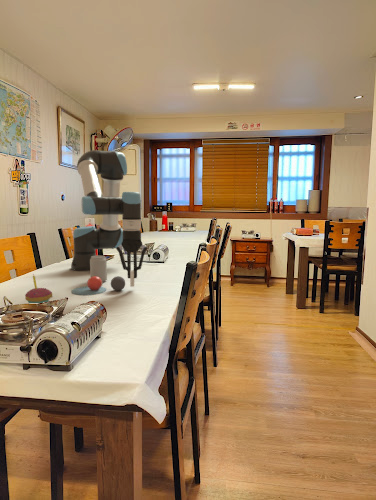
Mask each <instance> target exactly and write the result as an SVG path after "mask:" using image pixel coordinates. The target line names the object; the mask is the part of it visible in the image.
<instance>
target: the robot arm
mask: <svg viewBox="0 0 376 500" xmlns="http://www.w3.org/2000/svg"><path fill="white" fill-rule="evenodd" d="M76 163H77V164H76V169H77V172H78V173H77V174H79V175H80V179H81V183H82V184H81V185H82V188H83V193H84V196H83V197H82V198H81V212H82V214H83V215H91V216H98V215H99V216H101V215H102V220H101V221H102V222H101V223H100V224H99V228H98V227H97V228H96V226H95V225H87V226H81V227H76V228H75V229H74V230H73V234H72V235H73V236H72V238H73V258H72V260H71V261H72V262H71V265H70V269H71V270H73V271H79V272H80V271H83V272H84V271H85V272H87V271H90V259H91V258H92V257H91V256H97V251H96V250H114V249H116V250H117V252H118V255H119V258H120V262H121V266H122V269H123V270H125V271H127V279H130V280H129V281H130V284H129V285H130V287H133V288H134V287H135V279H137V278H138V270H141V269H142V266H143V261H144V256H145V253H146V251H147V250H148V246H146V245H145V244H143V242H142V231H141V229H142V214H141V213H142V210H141V209H142V206H141V205H142V199H141V197H142V196H141V193H140V192H139V191H123V192H122V194H121V193H120V191H121V190H120V189H121V182H122V181H123V180H124V177H125V176H126V175H127V174H128V164H127V159H126V155H125V153H123V152H121V151H115V150H114V151H113V150H96V149H94V150H88V151H87V152H85V153H83V154H82V155H81V156H80V157H79V158H78V161H77V162H76ZM99 175H100V179H102V181H103V189H102V187H101V183H100V179H99ZM120 194H121V196H120ZM120 215H122V222H121V224H122V226H121V225H120V223H119V216H120ZM123 250H124V251H126V256H127V258H126V259H127V261H125V260H126V259H125V256H124V252H123ZM139 250H141V253H140V259H139V263H138V252H139ZM131 253H133V254H131ZM132 255H133V269H131V268H132V267H131V266H132V265H131V264H132V263H131V262H132V260H131V258H132Z"/></svg>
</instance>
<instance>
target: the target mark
mask: <svg viewBox="0 0 376 500" xmlns="http://www.w3.org/2000/svg"><path fill="white" fill-rule="evenodd" d="M106 291H107V288H106V287H104V286H101V288H100V289H98V290H95V291H94V290H91V289H89V287H88V285H87V286H79V287H76V288H73V289H72V290H71V293H72V294H73V295H78V296H92V295H93V296H94V295H100V294H103V293H104V292H106Z"/></svg>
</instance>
